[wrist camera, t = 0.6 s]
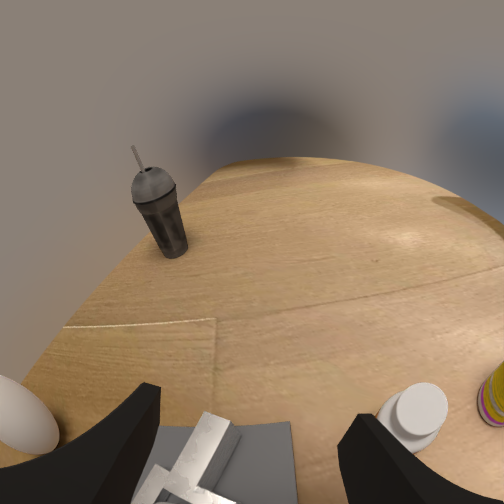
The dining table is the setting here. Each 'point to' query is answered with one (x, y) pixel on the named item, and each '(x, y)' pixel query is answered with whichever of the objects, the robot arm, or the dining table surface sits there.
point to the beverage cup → (159, 208)
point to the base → (238, 464)
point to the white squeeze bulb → (25, 420)
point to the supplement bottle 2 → (493, 397)
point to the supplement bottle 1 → (415, 415)
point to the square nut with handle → (195, 466)
